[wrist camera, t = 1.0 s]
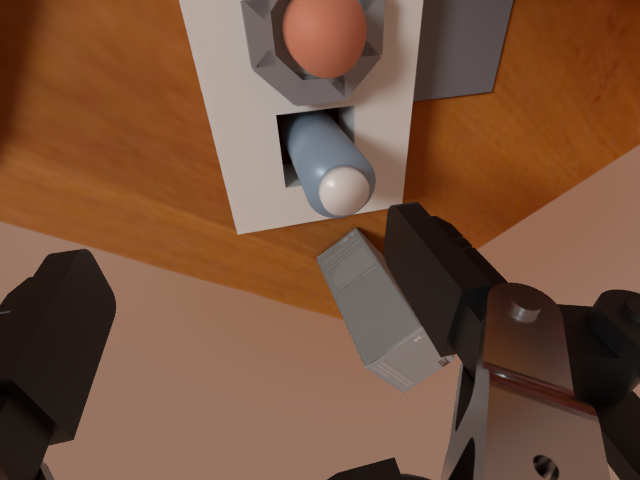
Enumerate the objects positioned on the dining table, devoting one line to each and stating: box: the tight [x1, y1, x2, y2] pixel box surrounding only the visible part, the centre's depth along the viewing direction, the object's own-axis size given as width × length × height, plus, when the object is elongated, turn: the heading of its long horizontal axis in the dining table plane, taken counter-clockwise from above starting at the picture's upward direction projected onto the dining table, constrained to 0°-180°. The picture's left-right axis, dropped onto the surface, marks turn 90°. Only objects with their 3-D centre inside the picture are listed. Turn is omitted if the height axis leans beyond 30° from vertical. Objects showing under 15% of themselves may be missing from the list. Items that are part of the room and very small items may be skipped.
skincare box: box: [317, 228, 455, 393], centre depth 37 cm, size 8×7×16 cm
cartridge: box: [281, 109, 376, 218], centre depth 27 cm, size 5×5×13 cm
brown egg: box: [281, 0, 367, 78], centre depth 20 cm, size 4×4×4 cm
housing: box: [179, 0, 423, 234], centre depth 27 cm, size 20×16×7 cm
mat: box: [413, 0, 513, 102], centre depth 30 cm, size 9×9×1 cm
